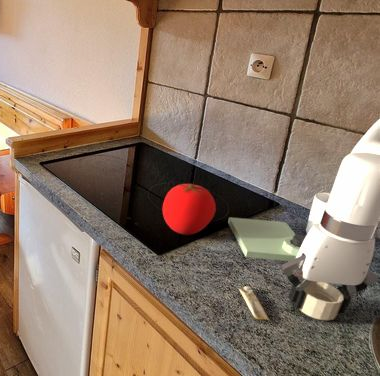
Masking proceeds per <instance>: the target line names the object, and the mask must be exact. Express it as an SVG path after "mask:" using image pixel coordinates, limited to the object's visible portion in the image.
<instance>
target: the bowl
mask: <svg viewBox="0 0 380 376" xmlns="http://www.w3.org/2000/svg"><path fill="white" fill-rule="evenodd" d="M337 288H338V287H335V286H334V285H333V284H331V283H324V282H315V281H313V282H312V283H311V284H309V285H308V286H307V287H306V288H305V289H304V291H305V297H304V299H303V302H302V305H301V307H300V308H299V309H298V310H299V311H301V312H302V313H303V314H305V315H306V316H308V317H309V318H312V319H314V320H319V321H332V320H334V319H336V318H337V316H338V314H339V313H338V312H339V309H340V307H341V305H342V302H343V300H344V298H343V294H342V293H341V292H340V291H339V290H338V289H337Z"/></svg>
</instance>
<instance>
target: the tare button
mask: <svg viewBox="0 0 380 376" xmlns="http://www.w3.org/2000/svg"><path fill="white" fill-rule="evenodd" d="M305 237H306V236H304V235H300V234H295V235H294V236H293V239H292V242H291V244H293V245H294V246H297V247H301V245H302V243H303V241H304V239H305Z"/></svg>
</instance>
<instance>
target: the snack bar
mask: <svg viewBox="0 0 380 376" xmlns="http://www.w3.org/2000/svg"><path fill="white" fill-rule="evenodd" d="M236 288H237V289H238V290H239V293H240V294H241V296H242V298H243V300H244V301H245V303H246V306H247V307H248V309H249V311H250V313H251V315H252V316H253V318H254V319H255V320H260V321H263V322H265V323H266V322H267V323H268V322H269V323H270V322H271V319H270V318H269V316H268V315H267V313H266V310H265V309H264V307H263V305H262V303H261V302H260V300H259V299H258V296H257V295H256V294H255V292H254V290H253V288H252V286H251V285H247V286H246V285H245V286H238V285H236Z"/></svg>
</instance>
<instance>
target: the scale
mask: <svg viewBox="0 0 380 376" xmlns="http://www.w3.org/2000/svg"><path fill="white" fill-rule="evenodd" d="M227 224H228V226H229V227H230V230H231V231H232V234H233V236H234V237H235V239H236V241H237V243H238V245H239V247H240V249H241V251H242V253H243V254H244V256H245V258H249V259H250V258H251V259H252V258H253V259H262V260H271V261H282V262H289V261H291V260H294V259H296V256H297V254H298V251H299V249H300V247H297V246H294V245H293V244H291V242H292V239H293V236H294V235H296V234H295V232H294V230H293V229H292V228H291V227H290V226H289V224H288V223H287V222H286V221H277V220H264V219H252V218H241V217H232V216H231V217H228V221H227Z"/></svg>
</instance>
